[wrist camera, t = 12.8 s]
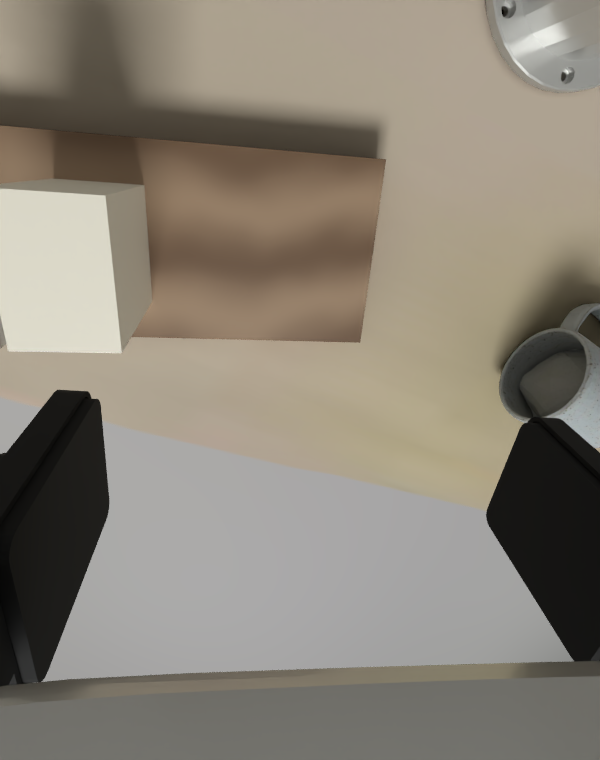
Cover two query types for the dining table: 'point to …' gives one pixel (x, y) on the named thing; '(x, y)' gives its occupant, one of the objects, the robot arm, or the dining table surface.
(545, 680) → the robot arm
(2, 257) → the carton
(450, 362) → the dining table surface
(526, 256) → the dining table surface
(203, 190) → the shelf board
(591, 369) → the ceramic mug
